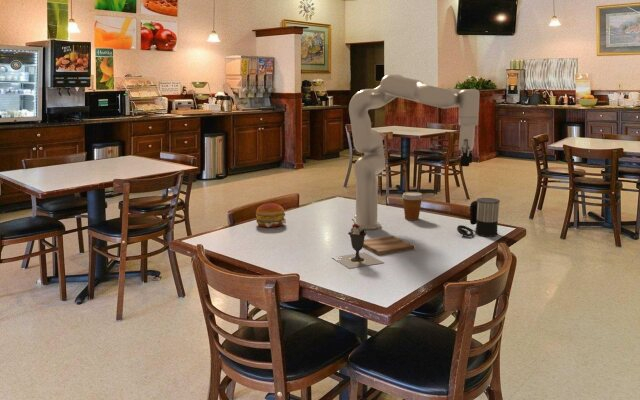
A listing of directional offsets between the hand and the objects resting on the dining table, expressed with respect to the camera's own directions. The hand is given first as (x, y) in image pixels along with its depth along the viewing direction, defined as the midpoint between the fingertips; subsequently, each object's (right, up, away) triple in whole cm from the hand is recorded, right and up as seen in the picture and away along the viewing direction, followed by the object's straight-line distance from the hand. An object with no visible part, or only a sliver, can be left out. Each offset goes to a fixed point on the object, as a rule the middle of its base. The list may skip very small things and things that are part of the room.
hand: (466, 164), depth 229 cm
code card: (-45, -36, -21) cm, 61 cm away
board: (-33, -33, -5) cm, 46 cm away
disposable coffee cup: (-15, -23, +40) cm, 49 cm away
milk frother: (+8, -29, +12) cm, 32 cm away
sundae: (-45, -36, -21) cm, 61 cm away
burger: (-81, -26, +31) cm, 90 cm away
